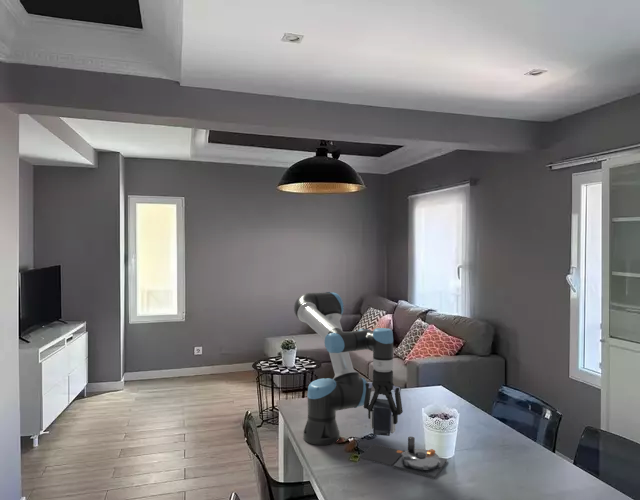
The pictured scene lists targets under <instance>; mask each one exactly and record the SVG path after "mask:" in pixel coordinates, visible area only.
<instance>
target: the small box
mask: <svg viewBox="0 0 640 500" xmlns="http://www.w3.org/2000/svg"><path fill="white" fill-rule="evenodd" d="M391 415H392V411H391V408H390V405H389V402H388V400H387V398H377V400H376V401H375V404H374V407H373V429H372V435H373V436H374V435H376V436H386V437H389V436H390V435H391Z"/></svg>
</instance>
